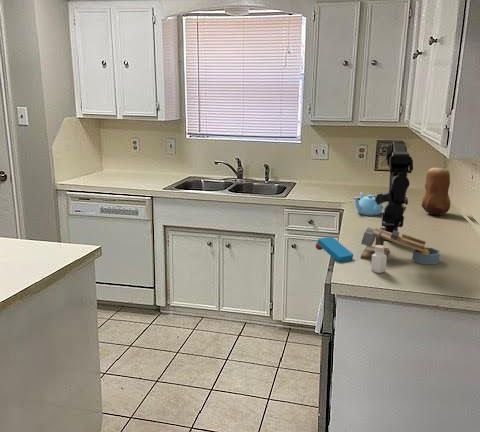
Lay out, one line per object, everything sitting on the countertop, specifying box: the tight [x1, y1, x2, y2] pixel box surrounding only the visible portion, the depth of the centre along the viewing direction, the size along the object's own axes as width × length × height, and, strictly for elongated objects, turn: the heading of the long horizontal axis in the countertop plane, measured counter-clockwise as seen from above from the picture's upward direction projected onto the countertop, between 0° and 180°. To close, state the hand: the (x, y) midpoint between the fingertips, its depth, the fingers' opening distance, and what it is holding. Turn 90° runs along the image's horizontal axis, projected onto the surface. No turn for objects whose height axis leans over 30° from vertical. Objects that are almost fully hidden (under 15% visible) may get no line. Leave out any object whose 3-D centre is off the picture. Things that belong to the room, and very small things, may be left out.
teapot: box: [353, 191, 384, 217], centre depth 259 cm, size 15×15×10 cm
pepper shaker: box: [370, 245, 388, 274], centre depth 174 cm, size 4×4×10 cm
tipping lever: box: [360, 227, 426, 252], centre depth 190 cm, size 9×22×7 cm, turn 66°
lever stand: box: [360, 226, 390, 261], centre depth 193 cm, size 14×9×10 cm, turn 156°
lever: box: [315, 236, 354, 263], centre depth 195 cm, size 7×7×18 cm
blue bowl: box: [411, 246, 441, 265], centre depth 186 cm, size 10×10×4 cm
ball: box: [419, 248, 429, 254], centre depth 186 cm, size 4×4×4 cm
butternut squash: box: [421, 167, 451, 216], centre depth 253 cm, size 14×13×25 cm
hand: (396, 226), depth 188 cm, fingers closed
